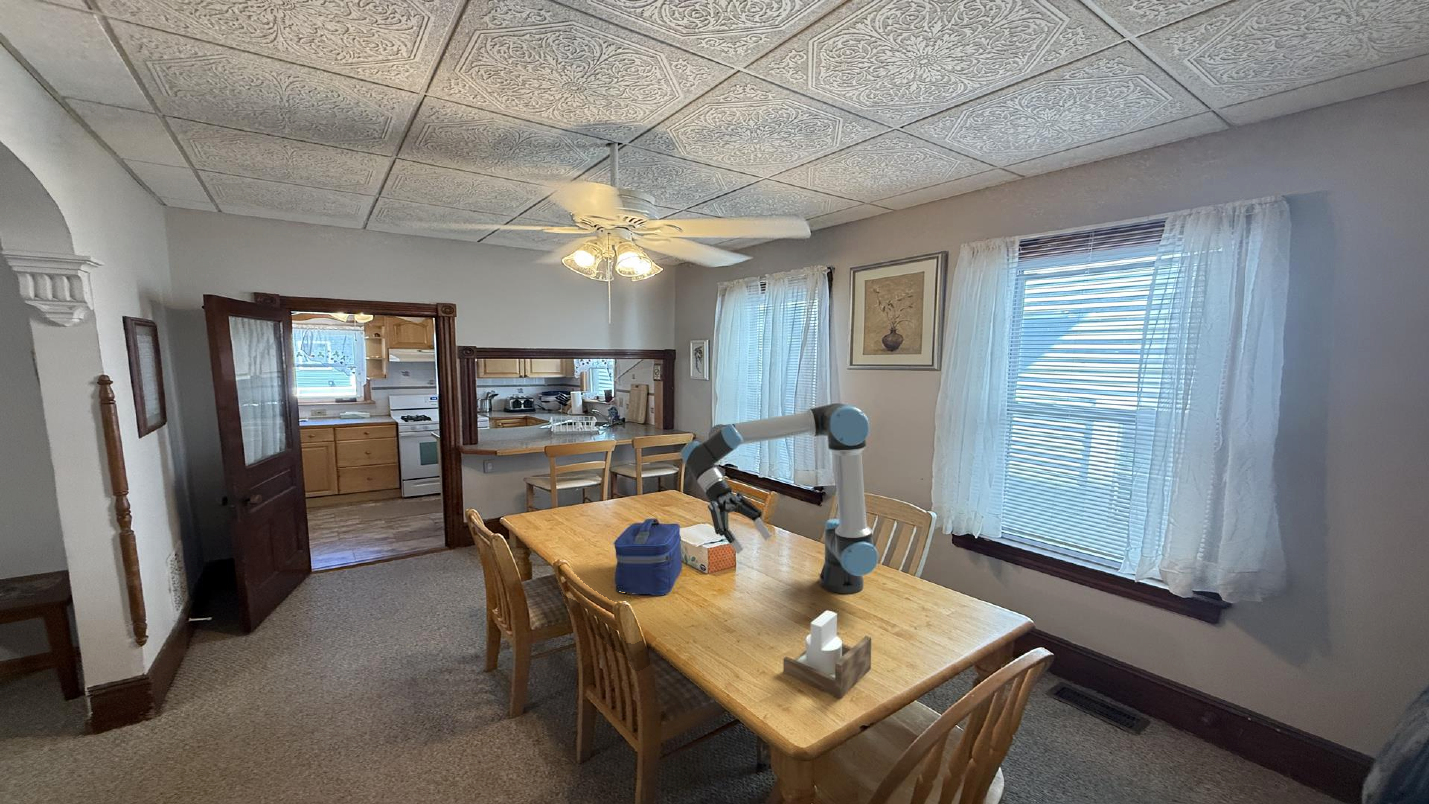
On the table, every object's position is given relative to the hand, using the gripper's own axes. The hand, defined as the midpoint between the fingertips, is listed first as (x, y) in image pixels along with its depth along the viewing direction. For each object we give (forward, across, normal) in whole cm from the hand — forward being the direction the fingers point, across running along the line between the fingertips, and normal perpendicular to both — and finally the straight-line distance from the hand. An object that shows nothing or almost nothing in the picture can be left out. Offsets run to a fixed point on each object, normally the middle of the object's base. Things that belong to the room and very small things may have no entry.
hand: (755, 544), depth 151 cm
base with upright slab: (+35, +5, 0) cm, 35 cm away
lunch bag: (-18, -4, -54) cm, 57 cm away
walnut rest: (+36, +5, 0) cm, 37 cm away
